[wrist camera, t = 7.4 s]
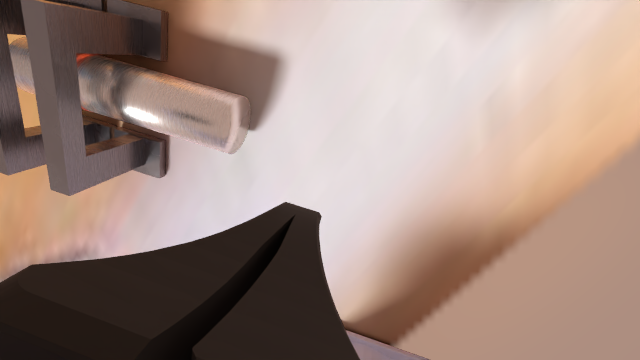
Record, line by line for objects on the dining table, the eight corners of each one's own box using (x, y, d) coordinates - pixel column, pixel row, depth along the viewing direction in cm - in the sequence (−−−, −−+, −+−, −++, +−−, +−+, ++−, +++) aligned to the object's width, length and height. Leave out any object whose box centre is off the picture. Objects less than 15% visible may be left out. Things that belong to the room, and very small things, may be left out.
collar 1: (109, -3, 18) (-16, -33, 13) (118, 160, 23) (28, 192, 17) (59, -16, 19) (-85, -51, 13) (77, 147, 23) (-24, 175, 17)
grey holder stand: (168, 12, 18) (66, -12, 12) (165, 175, 22) (89, 213, 17) (115, -2, 18) (-8, -31, 12) (122, 162, 23) (34, 195, 17)
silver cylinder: (255, 100, 19) (232, 90, 16) (242, 153, 20) (216, 155, 16) (67, 47, 20) (7, 26, 17) (59, 98, 21) (-1, 88, 17)
